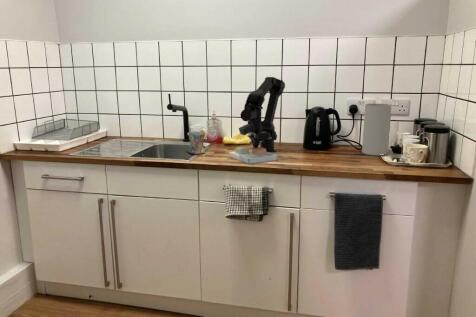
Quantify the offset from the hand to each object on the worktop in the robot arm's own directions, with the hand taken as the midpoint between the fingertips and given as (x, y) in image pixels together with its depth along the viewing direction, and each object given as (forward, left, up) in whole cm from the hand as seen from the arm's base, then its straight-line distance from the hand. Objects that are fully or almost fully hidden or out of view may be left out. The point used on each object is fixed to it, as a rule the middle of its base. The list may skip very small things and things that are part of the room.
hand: (255, 149), depth 200 cm
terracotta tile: (0, +4, -1) cm, 4 cm away
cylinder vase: (-57, +24, -3) cm, 62 cm away
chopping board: (+3, -1, -3) cm, 5 cm away
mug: (+24, -20, -3) cm, 31 cm away
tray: (+3, +9, -3) cm, 10 cm away
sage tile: (+7, -1, -1) cm, 7 cm away
